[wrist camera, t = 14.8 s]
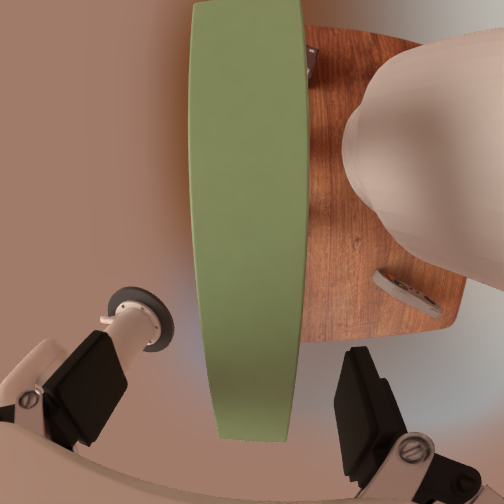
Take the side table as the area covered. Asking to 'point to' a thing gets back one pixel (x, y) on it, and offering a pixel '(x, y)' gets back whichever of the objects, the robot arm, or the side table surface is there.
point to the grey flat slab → (406, 293)
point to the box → (311, 59)
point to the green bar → (249, 206)
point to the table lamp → (436, 153)
